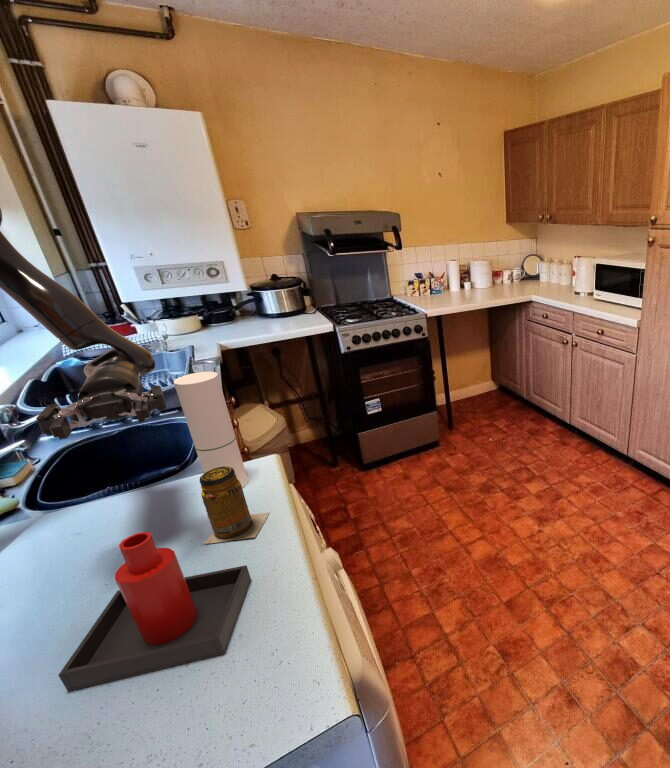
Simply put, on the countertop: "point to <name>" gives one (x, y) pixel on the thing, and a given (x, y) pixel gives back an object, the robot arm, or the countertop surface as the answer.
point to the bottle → (154, 590)
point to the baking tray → (134, 657)
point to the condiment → (228, 507)
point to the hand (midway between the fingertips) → (101, 424)
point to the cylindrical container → (210, 422)
